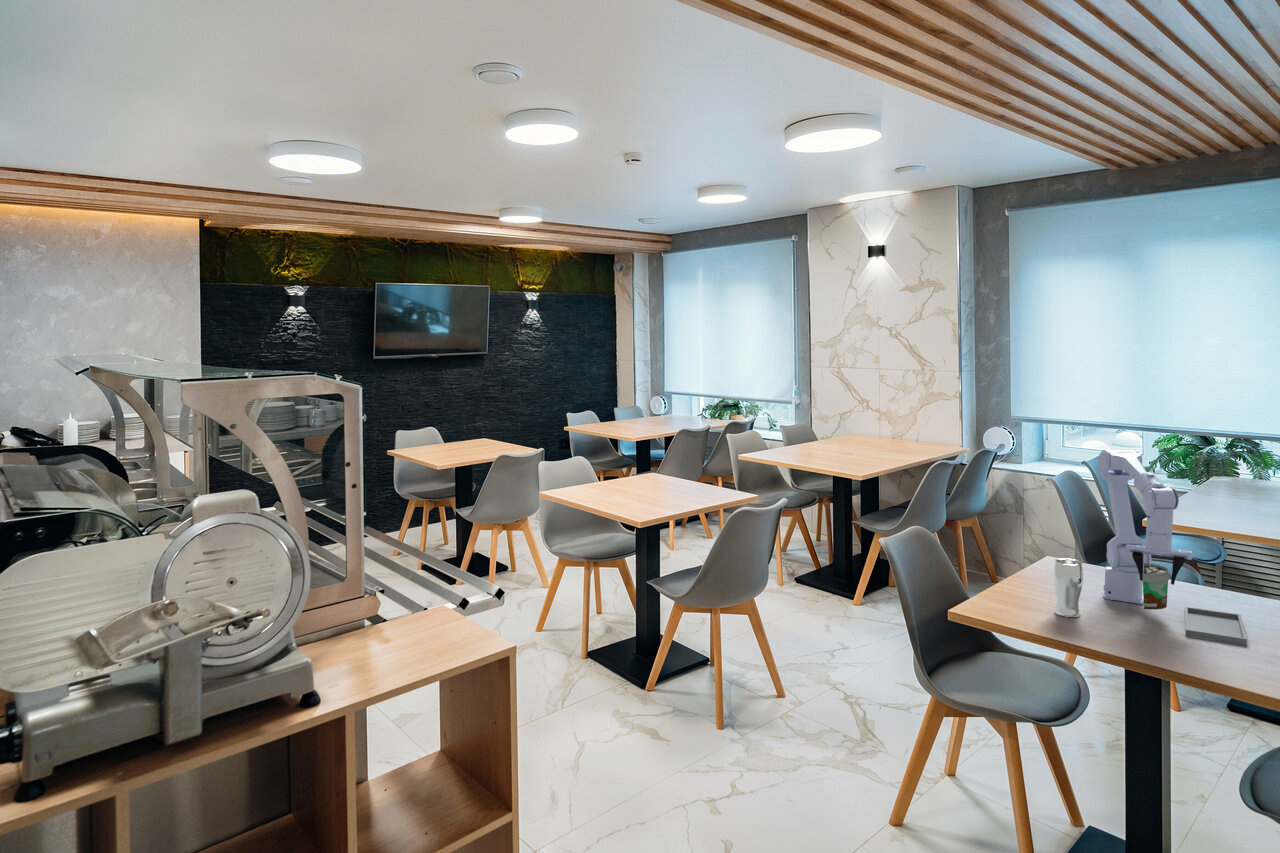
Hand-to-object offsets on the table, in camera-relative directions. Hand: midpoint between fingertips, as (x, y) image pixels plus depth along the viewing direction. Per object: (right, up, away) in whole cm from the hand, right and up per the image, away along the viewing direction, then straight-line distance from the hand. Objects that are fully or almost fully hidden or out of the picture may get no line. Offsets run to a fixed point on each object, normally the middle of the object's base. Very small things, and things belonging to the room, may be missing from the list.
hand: (1156, 581), depth 198 cm
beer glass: (-21, -11, +6) cm, 24 cm away
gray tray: (+10, -11, -6) cm, 16 cm away
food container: (+1, -7, 0) cm, 7 cm away
